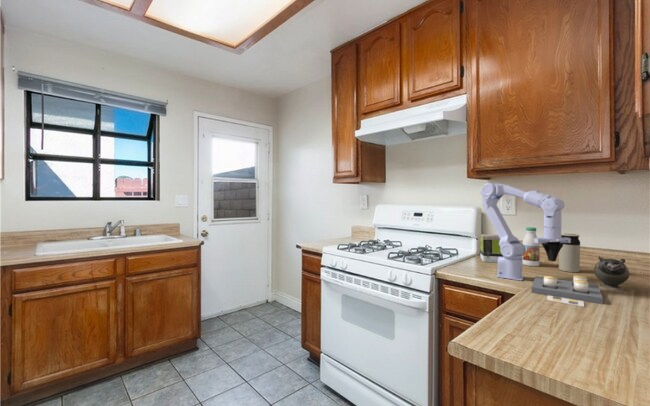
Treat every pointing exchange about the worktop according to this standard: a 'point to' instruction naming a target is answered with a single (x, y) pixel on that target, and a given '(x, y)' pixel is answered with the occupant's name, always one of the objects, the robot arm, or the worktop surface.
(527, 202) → the robot arm
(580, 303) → the card
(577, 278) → the far-right button
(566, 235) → the travel mug
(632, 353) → the worktop surface
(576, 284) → the near-right button
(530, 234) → the milk bottle
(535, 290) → the button board
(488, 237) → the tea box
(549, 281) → the near-left button
